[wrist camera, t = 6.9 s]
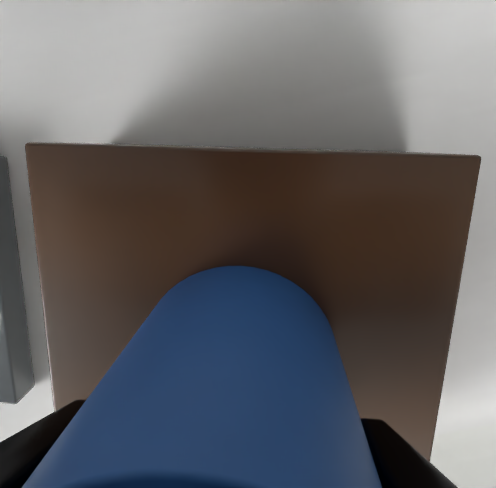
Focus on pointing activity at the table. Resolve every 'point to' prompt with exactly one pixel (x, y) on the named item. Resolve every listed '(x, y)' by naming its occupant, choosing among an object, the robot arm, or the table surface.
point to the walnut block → (258, 253)
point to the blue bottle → (220, 397)
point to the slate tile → (12, 305)
